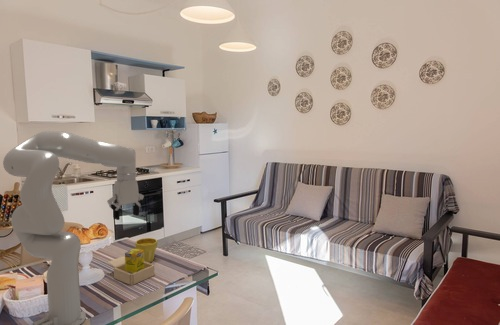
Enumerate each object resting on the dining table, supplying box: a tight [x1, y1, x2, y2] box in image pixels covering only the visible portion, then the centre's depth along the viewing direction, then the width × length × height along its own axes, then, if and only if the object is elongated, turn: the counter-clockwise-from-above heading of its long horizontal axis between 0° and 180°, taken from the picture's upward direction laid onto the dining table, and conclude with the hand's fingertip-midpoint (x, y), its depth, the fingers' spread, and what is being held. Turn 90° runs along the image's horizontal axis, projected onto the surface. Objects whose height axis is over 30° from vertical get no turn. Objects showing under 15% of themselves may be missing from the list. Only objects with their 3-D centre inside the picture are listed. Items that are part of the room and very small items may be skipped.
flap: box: [107, 255, 125, 268], centre depth 158 cm, size 11×6×1 cm, turn 146°
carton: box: [113, 261, 155, 286], centre depth 153 cm, size 13×13×5 cm
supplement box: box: [124, 248, 144, 274], centre depth 153 cm, size 6×6×11 cm
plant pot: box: [134, 237, 158, 263], centre depth 171 cm, size 10×10×10 cm
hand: (126, 217), depth 149 cm, fingers open, 9 cm apart
